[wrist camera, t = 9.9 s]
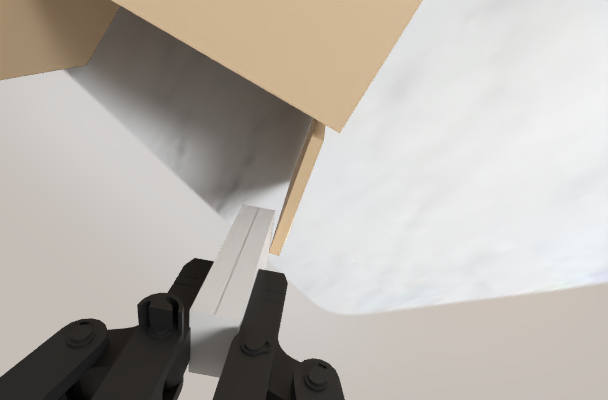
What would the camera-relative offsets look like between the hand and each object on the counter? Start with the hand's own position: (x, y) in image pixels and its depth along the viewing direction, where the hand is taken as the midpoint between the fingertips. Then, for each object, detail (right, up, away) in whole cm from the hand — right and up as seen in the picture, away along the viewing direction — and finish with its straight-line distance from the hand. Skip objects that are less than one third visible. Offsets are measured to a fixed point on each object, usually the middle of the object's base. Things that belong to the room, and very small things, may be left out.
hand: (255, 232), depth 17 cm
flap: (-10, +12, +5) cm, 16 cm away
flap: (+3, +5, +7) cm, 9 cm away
